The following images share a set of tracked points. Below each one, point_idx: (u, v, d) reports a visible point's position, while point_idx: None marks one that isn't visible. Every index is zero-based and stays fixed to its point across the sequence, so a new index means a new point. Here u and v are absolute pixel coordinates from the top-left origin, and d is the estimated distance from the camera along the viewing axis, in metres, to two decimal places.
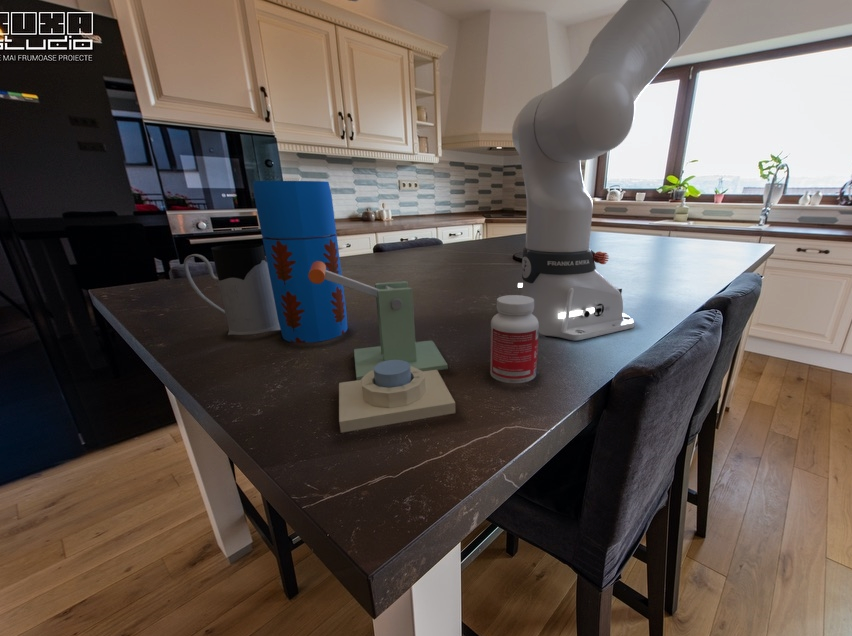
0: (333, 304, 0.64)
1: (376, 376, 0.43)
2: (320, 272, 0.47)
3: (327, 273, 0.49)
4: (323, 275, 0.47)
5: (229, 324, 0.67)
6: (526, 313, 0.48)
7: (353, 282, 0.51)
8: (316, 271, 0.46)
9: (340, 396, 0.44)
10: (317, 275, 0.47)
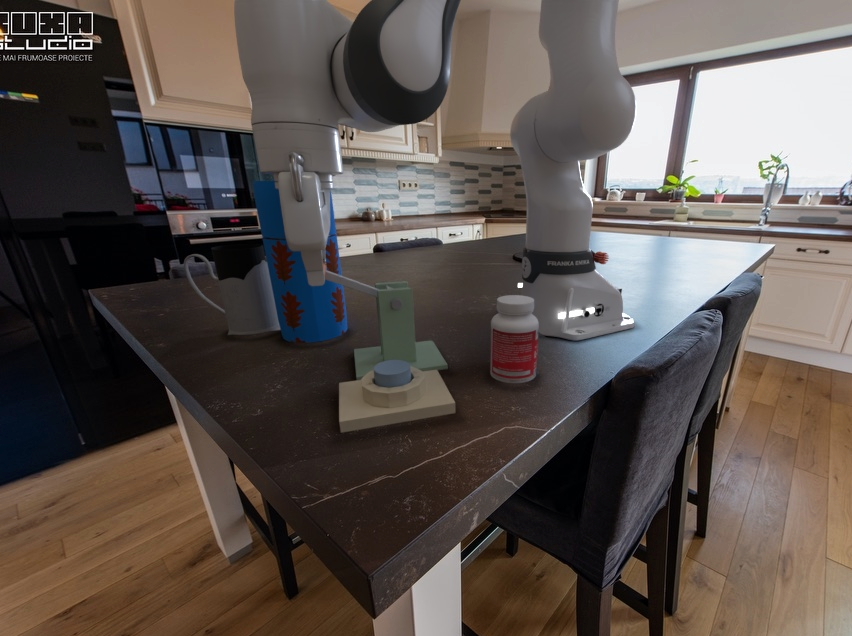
0: (333, 304, 0.64)
1: (376, 376, 0.43)
2: None
3: (327, 273, 0.49)
4: None
5: (229, 324, 0.67)
6: (526, 313, 0.48)
7: (353, 282, 0.51)
8: None
9: (340, 396, 0.44)
10: None
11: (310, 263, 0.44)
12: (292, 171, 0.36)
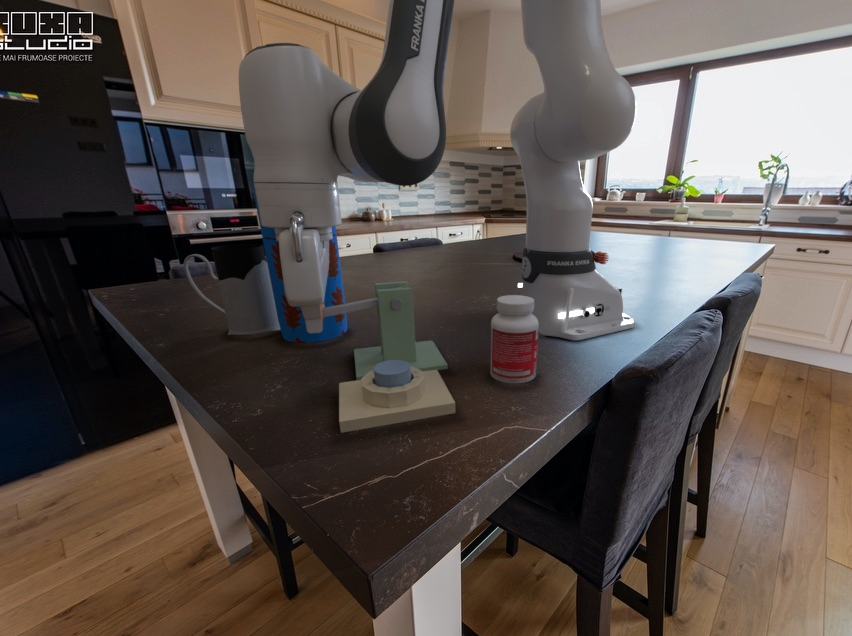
0: (333, 304, 0.64)
1: (376, 376, 0.43)
2: None
3: (324, 310, 0.51)
4: None
5: (229, 324, 0.67)
6: (526, 313, 0.48)
7: (350, 305, 0.51)
8: None
9: (340, 396, 0.44)
10: None
11: (309, 313, 0.46)
12: (292, 235, 0.38)
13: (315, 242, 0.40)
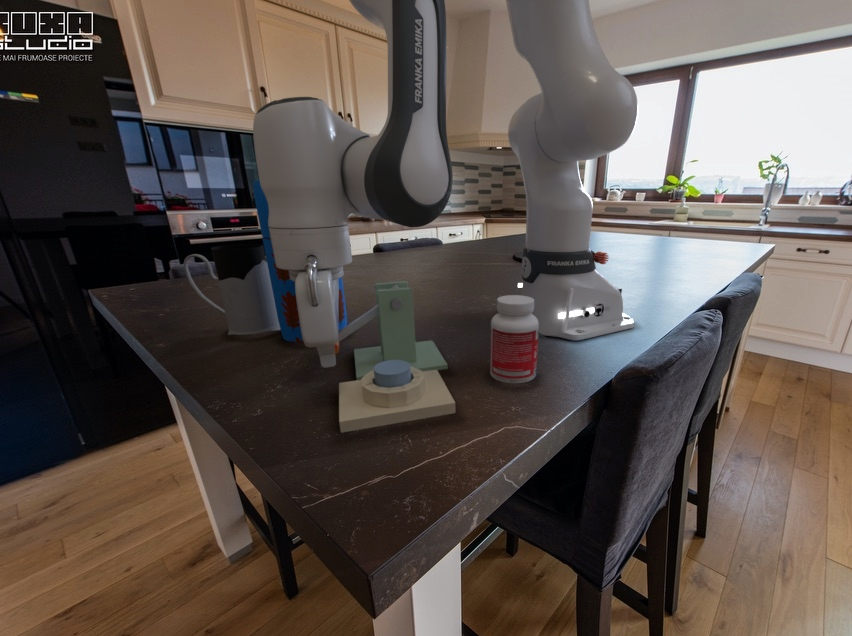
0: None
1: (376, 376, 0.43)
2: None
3: None
4: None
5: (229, 324, 0.67)
6: (526, 313, 0.48)
7: (357, 321, 0.52)
8: None
9: (340, 396, 0.44)
10: None
11: (323, 349, 0.48)
12: (308, 282, 0.40)
13: (329, 286, 0.42)
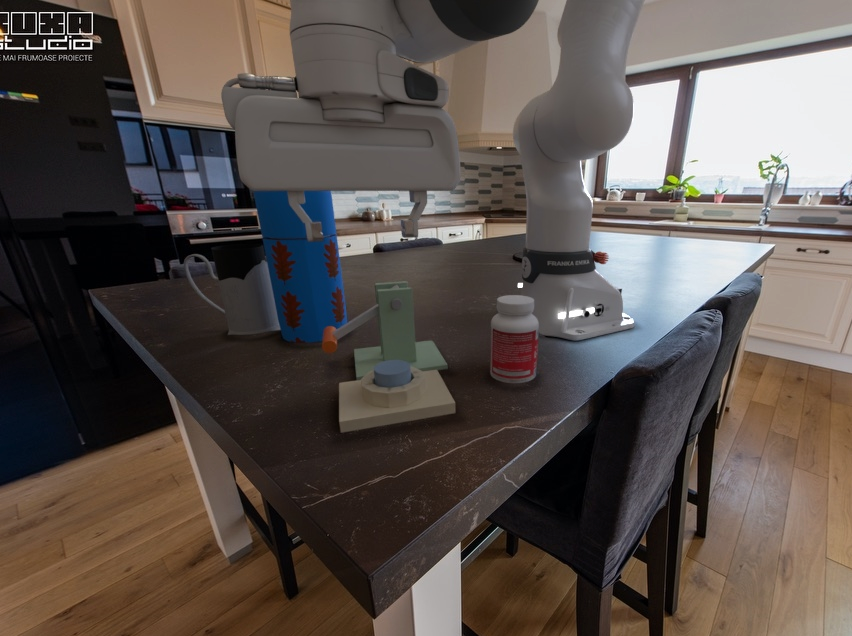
0: (333, 304, 0.64)
1: (376, 376, 0.43)
2: (328, 342, 0.50)
3: (335, 334, 0.52)
4: (332, 341, 0.50)
5: (229, 324, 0.67)
6: (526, 313, 0.48)
7: (356, 320, 0.52)
8: (325, 344, 0.50)
9: (340, 396, 0.44)
10: (329, 345, 0.50)
11: None
12: None
13: (242, 106, 0.32)
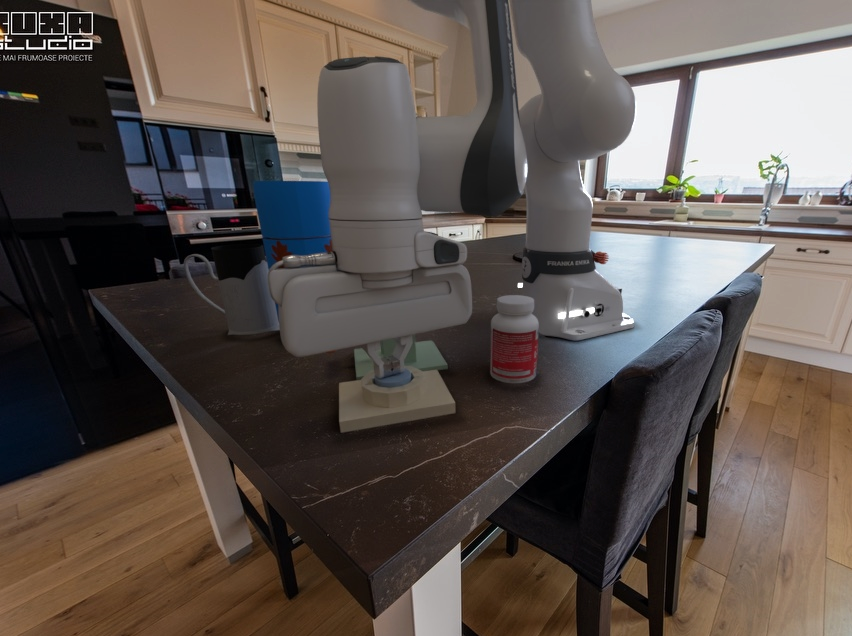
0: None
1: (377, 384, 0.43)
2: None
3: None
4: None
5: (229, 324, 0.67)
6: (526, 313, 0.48)
7: None
8: None
9: (340, 396, 0.44)
10: None
11: (368, 354, 0.42)
12: None
13: (292, 289, 0.34)
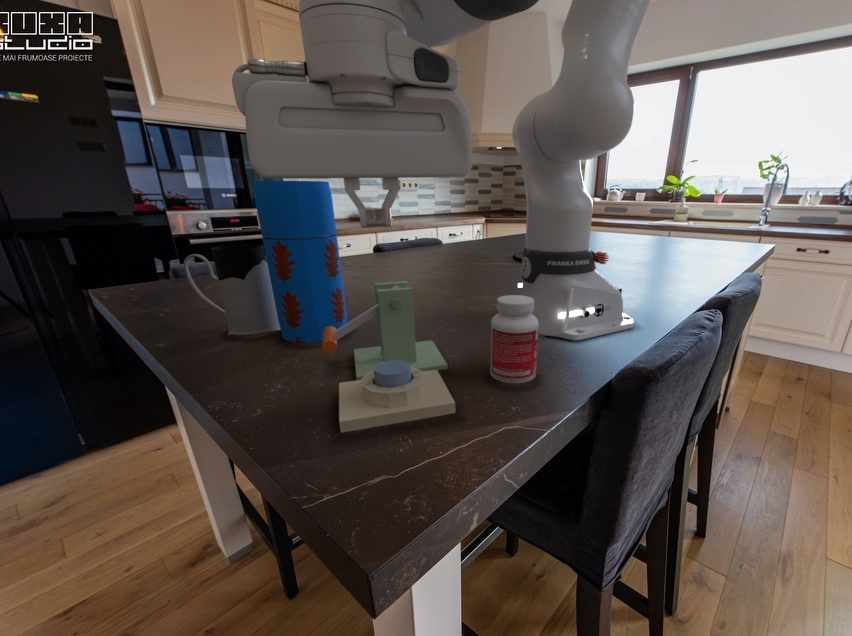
0: (333, 304, 0.64)
1: (376, 376, 0.43)
2: (328, 342, 0.50)
3: (335, 334, 0.52)
4: (332, 341, 0.50)
5: (229, 324, 0.67)
6: (526, 313, 0.48)
7: (356, 320, 0.52)
8: (325, 344, 0.50)
9: (340, 396, 0.44)
10: (329, 345, 0.50)
11: (350, 198, 0.39)
12: None
13: (251, 92, 0.32)
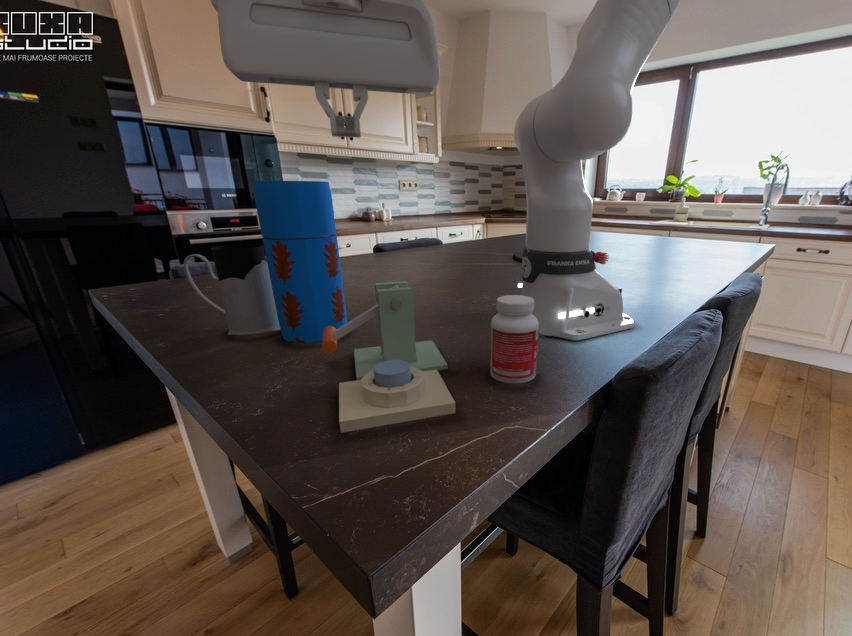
0: (333, 304, 0.64)
1: (376, 376, 0.43)
2: (328, 342, 0.50)
3: (335, 334, 0.52)
4: (332, 341, 0.50)
5: (229, 324, 0.67)
6: (526, 313, 0.48)
7: (356, 320, 0.52)
8: (325, 344, 0.50)
9: (340, 396, 0.44)
10: (329, 345, 0.50)
11: (321, 106, 0.41)
12: None
13: None
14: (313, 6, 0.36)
